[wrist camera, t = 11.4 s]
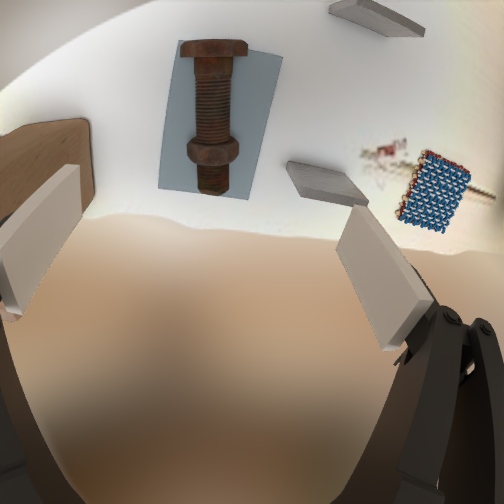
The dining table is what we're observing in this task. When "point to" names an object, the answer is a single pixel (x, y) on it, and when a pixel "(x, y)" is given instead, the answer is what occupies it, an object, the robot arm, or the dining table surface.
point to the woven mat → (434, 192)
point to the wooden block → (41, 165)
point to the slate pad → (241, 121)
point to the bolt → (213, 111)
